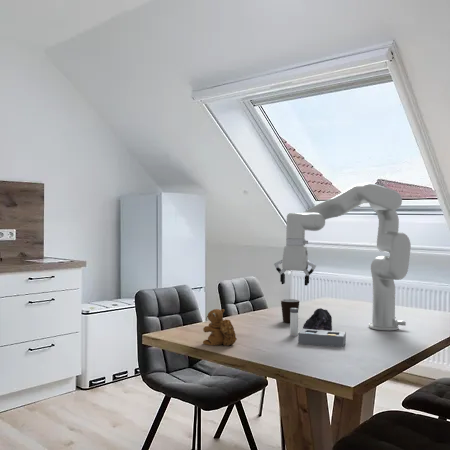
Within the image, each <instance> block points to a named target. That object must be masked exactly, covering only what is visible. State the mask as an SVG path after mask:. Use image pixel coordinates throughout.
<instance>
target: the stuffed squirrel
mask: <svg viewBox="0 0 450 450" xmlns="http://www.w3.org/2000/svg"><path fill="white" fill-rule="evenodd" d="M224 312H225V309H224V308H223V309H218V308H215V309H212V310H210V311H209V312H208V313H207V315H206V317H205V321H206V322H207V321H209V323H208V325H206V326H204V327H203V329H202V330H203V332H204V333H209V336H208V337H207V339H204V340H203V341H202V344H203V345H206V346H213V345H214V346H222V345H223V346H225V347H229V346H231V345H234V344H235V343H236V341H237V340H238V338H237V337H236V331H235V328H234V326H233V324H232V322H231V320H229V319H223V316H224V315H223V314H224ZM210 332H211V333H210Z"/></svg>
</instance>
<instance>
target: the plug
mask: <svg viewBox="0 0 450 450" xmlns="http://www.w3.org/2000/svg"><path fill="white" fill-rule="evenodd" d="M289 324H290V325H289V329H290V330H289V331H290V332H289V335H290V336H291V337H297V336H298V333H299V310H298V308H290V323H289Z"/></svg>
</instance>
